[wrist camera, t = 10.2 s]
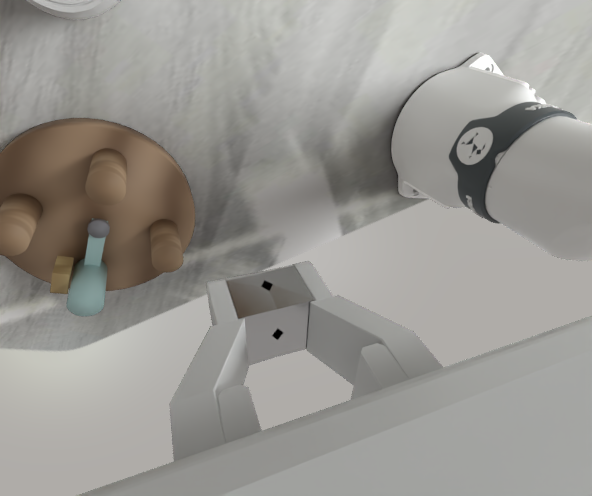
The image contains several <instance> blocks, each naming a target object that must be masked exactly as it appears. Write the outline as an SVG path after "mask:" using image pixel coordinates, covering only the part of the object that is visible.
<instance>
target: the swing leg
mask: <svg viewBox="0 0 592 496" xmlns="http://www.w3.org/2000/svg"><path fill="white" fill-rule="evenodd" d="M109 230H110V226H109V223H108V221H105V220H103V219H93V218H92V220H91V221H90V222H89V224H88V228H87V231H88V233H89V238H88V244H87V250H86V256H85V259H82V260H80V261H79V262H77V263H76V265H75V268H74V272H73V277H72V281H71V286H70V290H69V295H68V300H67V308H68V310H69V311H70V312H71V313H73V314H75V315H78V316H92V315H95V314H97V313H99V312H100V311H101V310H102V309H103V307H104V300H105V290H106V280H107V270H108V269H107V266H106V264H105V263H104V262H103V261H101V259H102V253H103V248H104V243H105V238H106V236H107V235H108V234H109Z"/></svg>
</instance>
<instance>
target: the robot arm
mask: <svg viewBox="0 0 592 496" xmlns="http://www.w3.org/2000/svg"><path fill="white" fill-rule="evenodd" d="M535 92H536V91H535V90H534V89H533V88H531V87H529V84H527V83H526V82H523V81H520V80H517V79H514V78H510V77H507V76H504V75H503V73H502V72H501V71H500V69H499V68H498V67H497V65H496V64H495V62H494V61H493V60H492V58H491V57H490V56H489V55H487V54H484V53H478V54H476V55H474V56H473V57H471V58H470V59H469V60H467V61H466V62H465V63H464V64H462V65H461V66H459V67H457V68H455V69H451V70H448V71H444V72H442V73H439V74H437V75H435V76H434V77H432V78H431V79H429V80H428V81H426V82H425V83H424V84H423V85H422V86H420V87H419V88H418V89H417V90H416V91H415V93H414V94H413V95H412V96H411V97H410V99H409V100H408V101H407V103H406V104H405V106H404V108H403V109H402V111H401V113H400V115H399V117H398V120H397V122H396V125H395V128H394V132H393V136H392V143H391V153H392V159H393V163H394V166H395V168H396V170H397V173H398V191H399V194H400V195H402V196H404V197H407V198H425V199H431V200H432V201H434V202H436V203H437V204H439V205H441V206H442V207H444V208H447V209H448V208H450V207H453V208H461V207H468V208H469V209H471V210H472V211H473V212H474V213H475V214H477V215H479V216H480V217H482V218H485V219H487V220H489V221H491V222H493V223H501V224H503V225H504V226H506V227H507V228H509V229H511V230H512V231H514V232H515V233H517V234H519V235H520V236H522V237H523V238H525V239H526V240H528V241H529V242H531V243H533V244H534V245H536V246H537V247H539V248H541V249H542V250H544V251H545V252H547V253H548V254H550V255H552V256H554V257H557V258H561V259H566V260H576V261H589V260H592V124H591V123H587V122H583V121H580V120H577V118H576V117H575V116H574V115H573V114H572V113H570V112H567V111H564V110H562V109H561V108H558V107H556V106H553V105H549V104H546V102H545V101H544V100H543V99H542V98H540V97H538V96H536V95H534V94H535ZM206 288H207V295H208V300H209V308H210V313H211V320H212V325H213V326H211V327H210V328H209V330H208V332H207V334H206V336H205V338H204V340H203V342H202V343H201V345H200V347H199V349H198V351H197V353H196V355H195V357H194V358H193V361H192V362H191V364H190V366H189V368H188V370H187V372H186V374H185V375H184V377H183V379H182V381H181V383H180V385H179V387H178V389H177V391H176V392H175V394H174V396H173V398H172V400H171V402H170V416H171V431H172V444H173V456H174V462H171V463H169V464H166V465H163V466H160V467H157V468H154V469H151V470H149V471H146V472H143V473H140V474H137V475H134V476H132V477H128V478H126V479H123V480H120V481H117V482H114V483H111V484H109V485H106V486H103V487H100V488H97V489H94V490H91V491H88V492H85V493H82V494H80V495H77V496H592V316H590V317H587V318H584V319H581V320H578V321H575V322H573V323H570V324H567V325H564V326H561V327H558V328H555V329H552V330H550V331H547V332H544V333H541V334H538V335H535V336H532V337H530V338H527V339H524V340H521V341H518V342H515V343H512V344H509V345H507V346H504V347H501V348H498V349H495V350H492V351H489V352H487V353H484V354H481V355H478V356H476V357H472V358H470V359H466V360H464V361H461V362H458V363H455V364H452V365H450V366H446V367H444V368H443V366H442V365H441V364H440V363H439V362H438V360H437V359H436V358H435V357H434V355H433V354H432V353H431V352H430V351H429V349H428V348H427V347H426V346H425V345H424V343H423V342H422V341H421V340H420V338H419V337H418V336H417V335H416V334H415V332H414V331H412V330H410V329H408V328H406V327H404V326H402V325H400V324H397V323H395V322H393V321H391V320H389V319H387V318H385V317H383V316H381V315H379V314H377V313H375V312H373V311H370V310H368V309H366V308H364V307H362V306H360V305H358V304H356V303H354V302H352V301H350V300H347V299H345V298H343V297H341V296H339V295H337V296H333V294H332V293H331V292H330V290H329V289H328V287H327V285H326V284H325V282H324V281H323V279H322V278H321V276H320V275H319V274H318V272H317V270H316V269H315V267H314V266H313V264H312V263H311V262H309V261H305V262H302V263H297V264H293V265H289V266H285V267H280V268H276V269H271V270H266V271H261V272H256V273H250V274H245V275H239V276H234V277H229V278H225V279H219V280H214V281H209V282H206ZM304 349H307V351H308V352H310V353H311V354H312V355H314V356H315V357H316V358H318V359H319V360H320V361H322V362H323V363H324V364H326V365H327V366H328V367H330V368H331V369H332V370H334V371H335V372H336V373H338V374H339V375H340V376H342V377H343V378H344V379H346V380H347V381H348V382H350V383H351V384H352V385H354V387H353V391H352V396H351V400H349V401H346V402H344V403H341V404H338V405H335V406H332V407H329V408H326V409H324V410H320V411H318V412H315V413H312V414H309V415H306V416H303V417H300V418H298V419H295V420H292V421H289V422H286V423H284V424H281V425H278V426H275V427H272V428H269V429H266V430H263V431H261V428H260V424H259V421H258V418H257V414H256V411H255V407H254V404H253V401H252V398H251V394H250V391H249V388H248V387H246V386H244V385H243V384H244V381H245V378H246V375H247V371H248V368H249V365H252V364H255V363H258V362H261V361H265V360H268V359H271V358H274V357H277V356H281V355H285V354H289V353H292V352H296V351H300V350H304Z"/></svg>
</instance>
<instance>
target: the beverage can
mask: <svg viewBox="0 0 592 496" xmlns="http://www.w3.org/2000/svg"><path fill="white" fill-rule="evenodd" d="M26 1H27V2H29V3H30V4H32V5H33V6H35V7H37V8H38V9H40V10H42V11H44V12H46V13H49V14H51V15H54V16H57V17H60V18H65V19H71V20H83V19H89V18H93V17H97V16H99V15H101V14H103V13H105V12H106V11H108V10H110V9H111V8H113V7H115V6H116V5H117V4H118V3H119V2H120V1H121V0H26Z"/></svg>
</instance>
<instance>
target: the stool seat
mask: <svg viewBox="0 0 592 496" xmlns="http://www.w3.org/2000/svg"><path fill="white" fill-rule="evenodd" d="M92 218H93V219H103V220H105V221H108V223H109V226H110V230H109V234H108V235H107V236H106V238H105V243H104V248H103V253H102V259H101V261H103V262H104V263H105V264H106V266H107V269H108V270H107V280H106V290H105V291H112V290H119V289H125V288H129V287H133V286H136V285H139V284H142V283H145V282H147V281H149V280H151V279H154V278H155V277H157V276H159V275H160V274H162V273H164V272H166V273H167V272H173V271H175V270H177V269H179V268H180V267H181V265H182V264H183V253H184V252H185V250H186V248H187V247H188V245H189V243H190V240H191V238H192V235H193V231H194V227H195V207H194V202H193V198H192V194H191V191H190V187H189V184H188V182H187V179H186V177H185V175H184V173H183V172H182V170H181V168H180V167H179V165H178V164H177V163H176V161H175V160H174V159H173V158H172V156H171V155H170V154H169V153H168V152H167V151H166V150H165V149H163V148H162V147H161V146H160V145H158V144H157V143H156V142H155V141H153V140H152V139H150V138H148V137H147V136H145V135H144V134H142V133H140V132H138V131H135V130H133V129H131V128H129V127H126V126H123V125H120V124H117V123H114V122H109V121H105V120H99V119H90V118H69V119H61V120H55V121H51V122H47V123H43V124H41V125H38V126H36V127H33V128H31V129H29V130H27V131H25V132H24V133H22V134H20V135H19V136H17V137H16V138H15V139H14V140H13V141H11V142H10V143H9V144H8V145H7V146H6V147H5V148H4V150H3V151H2V152H1V153H0V255H4V256H6V257H7V258H8V259H10V260H11V261H12V262H13V263H14V264H15V265H17V266H18V267H20V268H21V269H23V270H24V271H26V272H28V273H29V274H31V275H33V276H35V277H37V278H39V279H42V280H44V281H46V282H49V283H51V289H50V293H62V294H67V293H68V288H70V286H71V281H72V277H73V272H74V268H75V265H76V263H77V262H79V261H80V260H82V259H85V256H86V250H87V244H88V238H89V233H88V231H87V228H88V224H89V222H90V221H91V220H92Z"/></svg>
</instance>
